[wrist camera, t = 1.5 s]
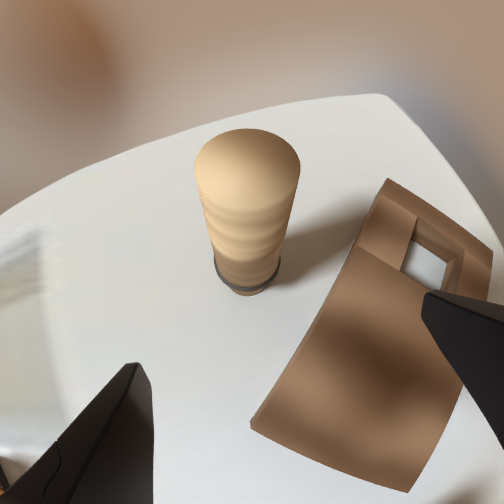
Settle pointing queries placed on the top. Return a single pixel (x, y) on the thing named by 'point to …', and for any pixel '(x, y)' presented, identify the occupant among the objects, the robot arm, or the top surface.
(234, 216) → the oak peg
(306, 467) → the top surface
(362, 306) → the walnut board
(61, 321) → the top surface
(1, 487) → the ammunition clip
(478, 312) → the robot arm
